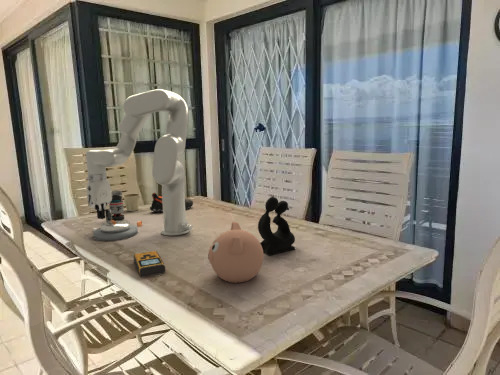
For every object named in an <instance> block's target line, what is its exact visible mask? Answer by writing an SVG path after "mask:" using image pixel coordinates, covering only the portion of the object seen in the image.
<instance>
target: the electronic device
mask: <svg viewBox="0 0 500 375" xmlns="http://www.w3.org/2000/svg"><path fill="white" fill-rule="evenodd" d="M133 261H134V262H133V263H134V265H135V268H136V270H137V272H138V274H139V276H140V277H141V278H143V277H149V276H154V275H160V274H159V273H161V274H164V272H165V273H166V266H165V263H164V260H162V258H161V256H160V255H159V253H158V252H157V251H156V250H154V251H153V250H152V251H146V252H139V253H135V254H134V255H133Z"/></svg>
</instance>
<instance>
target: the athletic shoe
mask: <svg viewBox="0 0 500 375" xmlns="http://www.w3.org/2000/svg"><path fill="white" fill-rule="evenodd" d="M151 197H152V203H151V206H150V207H149V210H150V211H151V212H154V213H163V203H162V194H160V195H158V194H157V193H156V192H153V193H152V194H151ZM193 205H194V201H193V200H192V199H190V198H187V197H186V198H185V210H187V209H190V208H191V207H193Z"/></svg>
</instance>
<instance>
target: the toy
mask: <svg viewBox="0 0 500 375" xmlns="http://www.w3.org/2000/svg"><path fill="white" fill-rule="evenodd" d="M260 243H261V242H260V240H259V239H258V238H257V237H256V236H255V235H254V234H253V233H251V232H249V231H247V230H244V229H242V228H241V226H240V224H239V222H235V221H232V223H231V226H230V230H226V231H225V232H222V233H221V234H219V236H217V237H216V238H215V240H214V241H213V242H212V245H211V246H210V248H209V249H208V254H207V258H208V262H209V264H210V265H211V267H212V269H213V271H214V272H215V274H216V275H217V276H218V277H219V278H220V279H222V280H223V281H225V282H227V281H228V283H233V282H234V283H235V284H236V283H237V282H239V283H245V282H248V281H250V280H252V279H253V278H254V277H255V276H256V275H258V273H259V272H260V271H261V268H262V265H263V262H264V257H265V256H264V252H263V249H262V246H261V244H260ZM234 283H233V284H234Z"/></svg>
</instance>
